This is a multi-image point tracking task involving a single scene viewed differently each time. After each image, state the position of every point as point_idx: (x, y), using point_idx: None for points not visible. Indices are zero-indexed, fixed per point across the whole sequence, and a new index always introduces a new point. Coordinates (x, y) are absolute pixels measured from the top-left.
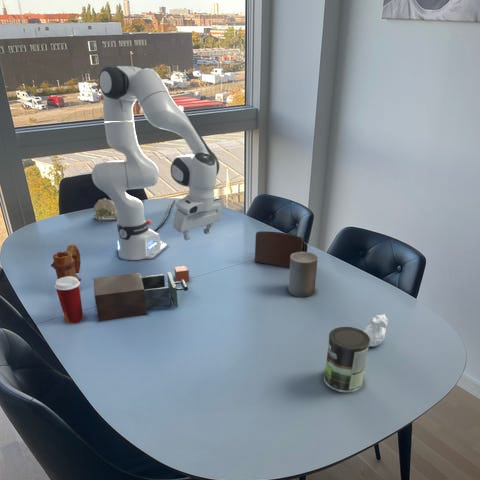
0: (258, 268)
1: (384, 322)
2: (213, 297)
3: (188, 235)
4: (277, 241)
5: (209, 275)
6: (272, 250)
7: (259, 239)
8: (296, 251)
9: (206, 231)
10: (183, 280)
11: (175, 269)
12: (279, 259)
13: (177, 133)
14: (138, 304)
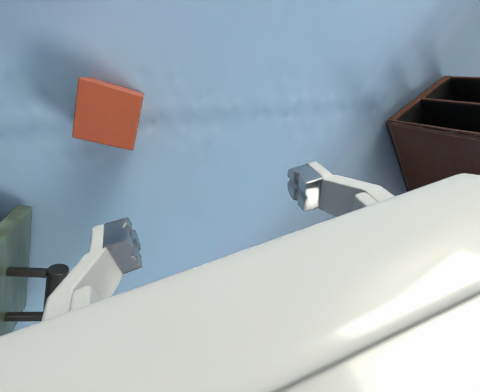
0: (361, 164)
1: None
2: (162, 267)
3: (126, 265)
4: None
5: (223, 132)
6: (439, 175)
7: (467, 147)
8: None
9: (298, 204)
10: (57, 282)
11: (75, 109)
12: (420, 184)
13: None
14: None
